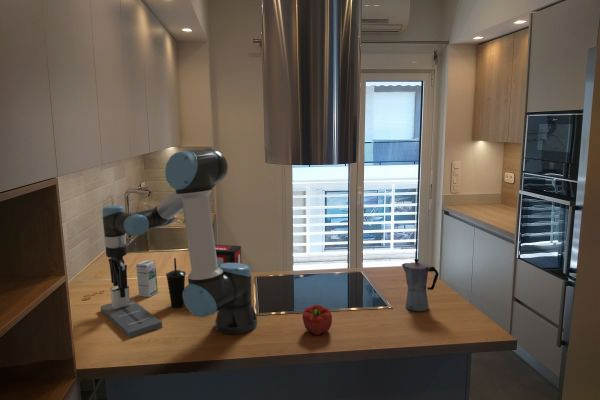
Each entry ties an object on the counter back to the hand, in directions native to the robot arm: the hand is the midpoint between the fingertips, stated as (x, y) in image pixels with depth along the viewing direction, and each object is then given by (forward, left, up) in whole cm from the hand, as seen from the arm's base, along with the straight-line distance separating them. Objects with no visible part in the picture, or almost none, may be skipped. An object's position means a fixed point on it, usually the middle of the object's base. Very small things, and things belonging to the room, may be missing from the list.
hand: (120, 302), depth 173 cm
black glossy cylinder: (-10, -19, -4) cm, 22 cm away
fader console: (-9, 0, -4) cm, 10 cm away
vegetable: (-65, -45, -4) cm, 79 cm away
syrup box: (+10, -15, -4) cm, 18 cm away
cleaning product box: (-9, -40, -4) cm, 41 cm away
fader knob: (0, 0, -1) cm, 1 cm away
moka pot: (-77, -89, -4) cm, 118 cm away
